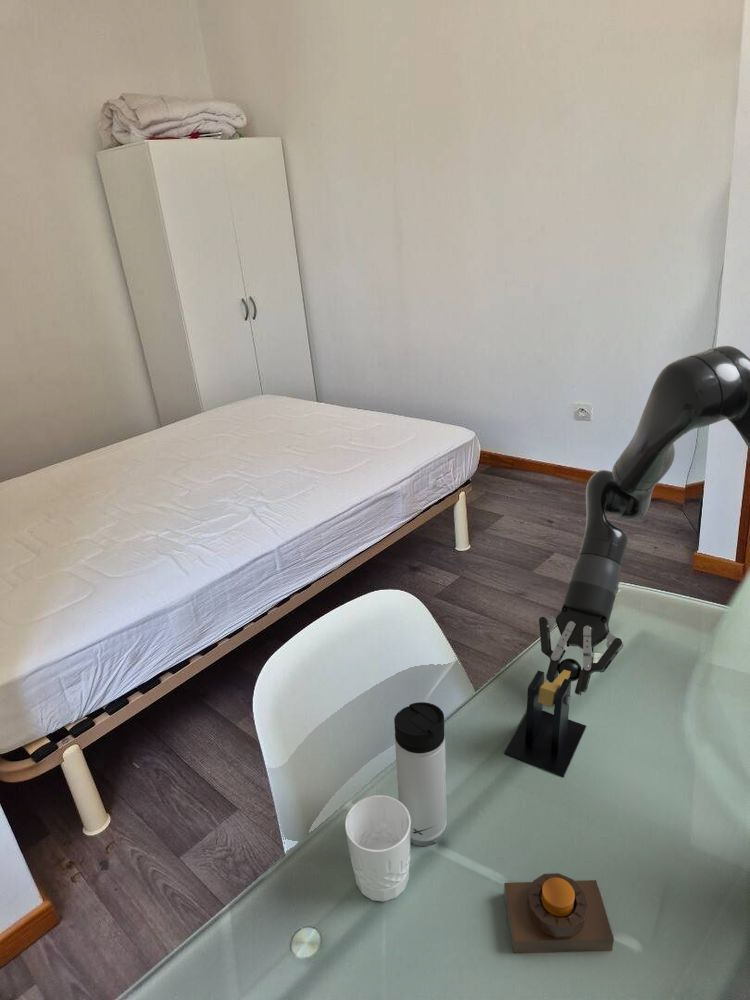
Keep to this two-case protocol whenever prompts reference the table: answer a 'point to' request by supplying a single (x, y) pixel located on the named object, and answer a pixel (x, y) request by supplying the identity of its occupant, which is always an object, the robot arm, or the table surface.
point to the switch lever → (559, 681)
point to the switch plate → (557, 919)
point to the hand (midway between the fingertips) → (564, 689)
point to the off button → (558, 897)
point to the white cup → (379, 846)
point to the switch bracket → (546, 731)
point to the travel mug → (422, 770)
